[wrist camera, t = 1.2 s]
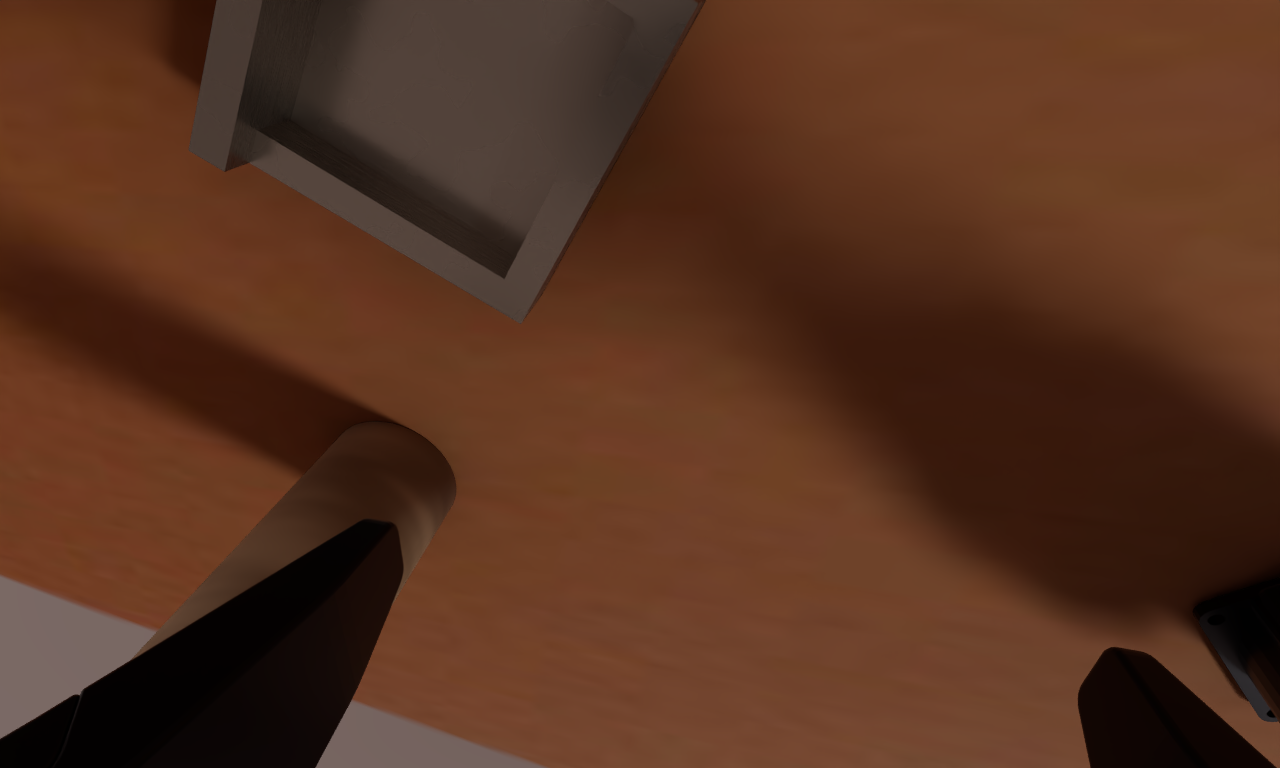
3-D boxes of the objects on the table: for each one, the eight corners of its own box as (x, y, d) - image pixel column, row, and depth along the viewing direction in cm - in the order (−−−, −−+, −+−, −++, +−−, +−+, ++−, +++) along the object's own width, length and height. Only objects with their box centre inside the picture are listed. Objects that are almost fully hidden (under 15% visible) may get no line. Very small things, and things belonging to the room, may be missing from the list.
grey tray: (705, 0, 17) (693, 5, 14) (540, 296, 22) (509, 339, 19) (352, -247, 16) (270, -289, 13) (261, 128, 20) (188, 150, 18)
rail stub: (483, 491, 26) (247, 913, 15) (403, 542, 29) (142, 945, 17) (384, 397, 25) (30, 784, 13) (307, 459, 27) (-55, 838, 15)
